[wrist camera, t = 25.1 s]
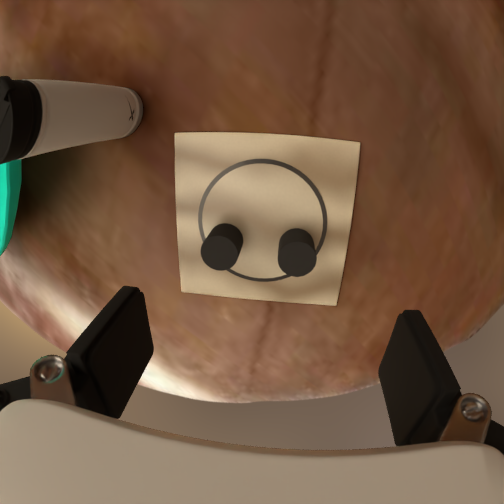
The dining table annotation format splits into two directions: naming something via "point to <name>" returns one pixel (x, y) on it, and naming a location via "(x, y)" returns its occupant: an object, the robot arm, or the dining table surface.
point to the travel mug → (62, 115)
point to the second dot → (296, 253)
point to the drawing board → (264, 210)
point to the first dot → (222, 247)
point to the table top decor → (9, 199)
